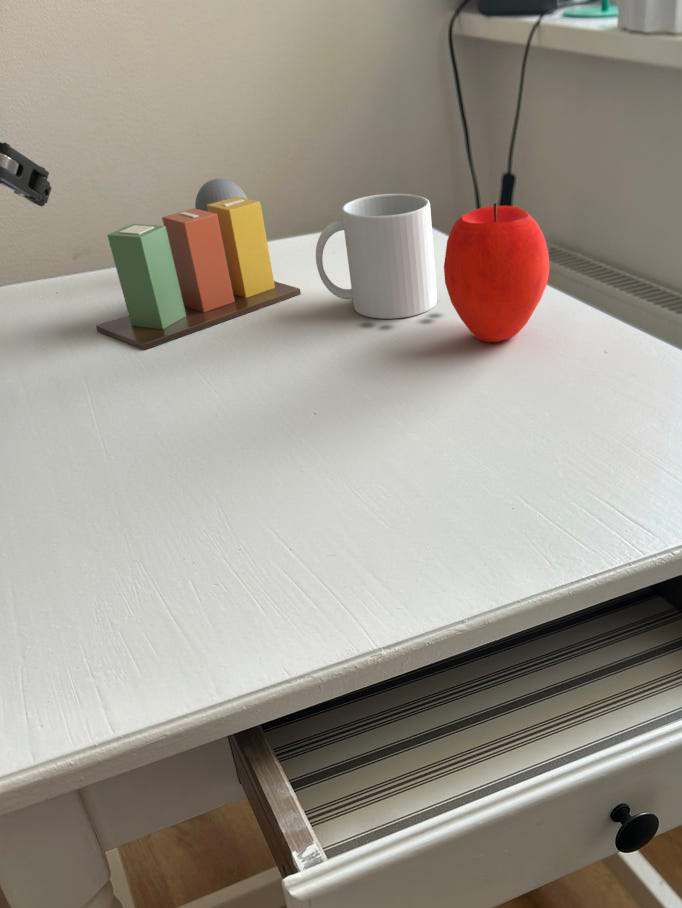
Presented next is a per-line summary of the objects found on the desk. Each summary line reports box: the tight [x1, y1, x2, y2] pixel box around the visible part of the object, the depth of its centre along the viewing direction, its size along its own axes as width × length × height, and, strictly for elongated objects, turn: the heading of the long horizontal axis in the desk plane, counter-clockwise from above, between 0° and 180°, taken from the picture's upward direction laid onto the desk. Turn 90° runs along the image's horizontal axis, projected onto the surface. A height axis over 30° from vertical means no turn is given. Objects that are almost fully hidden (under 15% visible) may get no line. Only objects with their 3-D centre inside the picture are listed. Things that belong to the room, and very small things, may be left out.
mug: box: [315, 193, 438, 320], centre depth 101 cm, size 11×10×10 cm
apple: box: [443, 202, 550, 343], centre depth 91 cm, size 10×10×12 cm
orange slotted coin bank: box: [161, 207, 234, 312], centre depth 102 cm, size 4×4×9 cm
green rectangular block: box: [107, 223, 186, 329], centre depth 99 cm, size 4×4×9 cm
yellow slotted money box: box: [207, 197, 275, 298], centre depth 105 cm, size 4×4×9 cm
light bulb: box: [194, 178, 248, 212], centre depth 113 cm, size 6×6×10 cm
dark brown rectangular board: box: [95, 280, 302, 351], centre depth 105 cm, size 9×20×1 cm, turn 138°
